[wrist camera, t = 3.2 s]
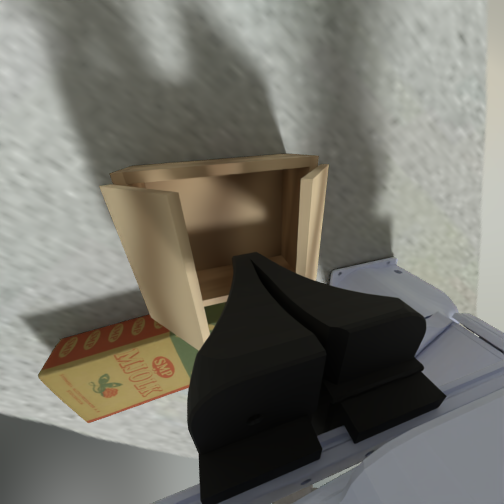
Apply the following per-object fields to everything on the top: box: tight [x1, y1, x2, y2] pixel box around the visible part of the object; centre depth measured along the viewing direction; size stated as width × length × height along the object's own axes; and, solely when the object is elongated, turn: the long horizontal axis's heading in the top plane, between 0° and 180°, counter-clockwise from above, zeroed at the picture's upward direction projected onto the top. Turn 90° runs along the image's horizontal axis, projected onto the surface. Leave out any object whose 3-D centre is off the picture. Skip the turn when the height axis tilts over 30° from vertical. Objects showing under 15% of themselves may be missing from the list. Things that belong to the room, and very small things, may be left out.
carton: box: [38, 302, 226, 423], centre depth 21 cm, size 8×16×4 cm, turn 97°
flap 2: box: [296, 164, 329, 281], centre depth 13 cm, size 6×9×1 cm
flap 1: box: [99, 184, 210, 351], centre depth 11 cm, size 6×9×1 cm
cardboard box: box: [110, 154, 319, 307], centre depth 16 cm, size 12×10×5 cm
